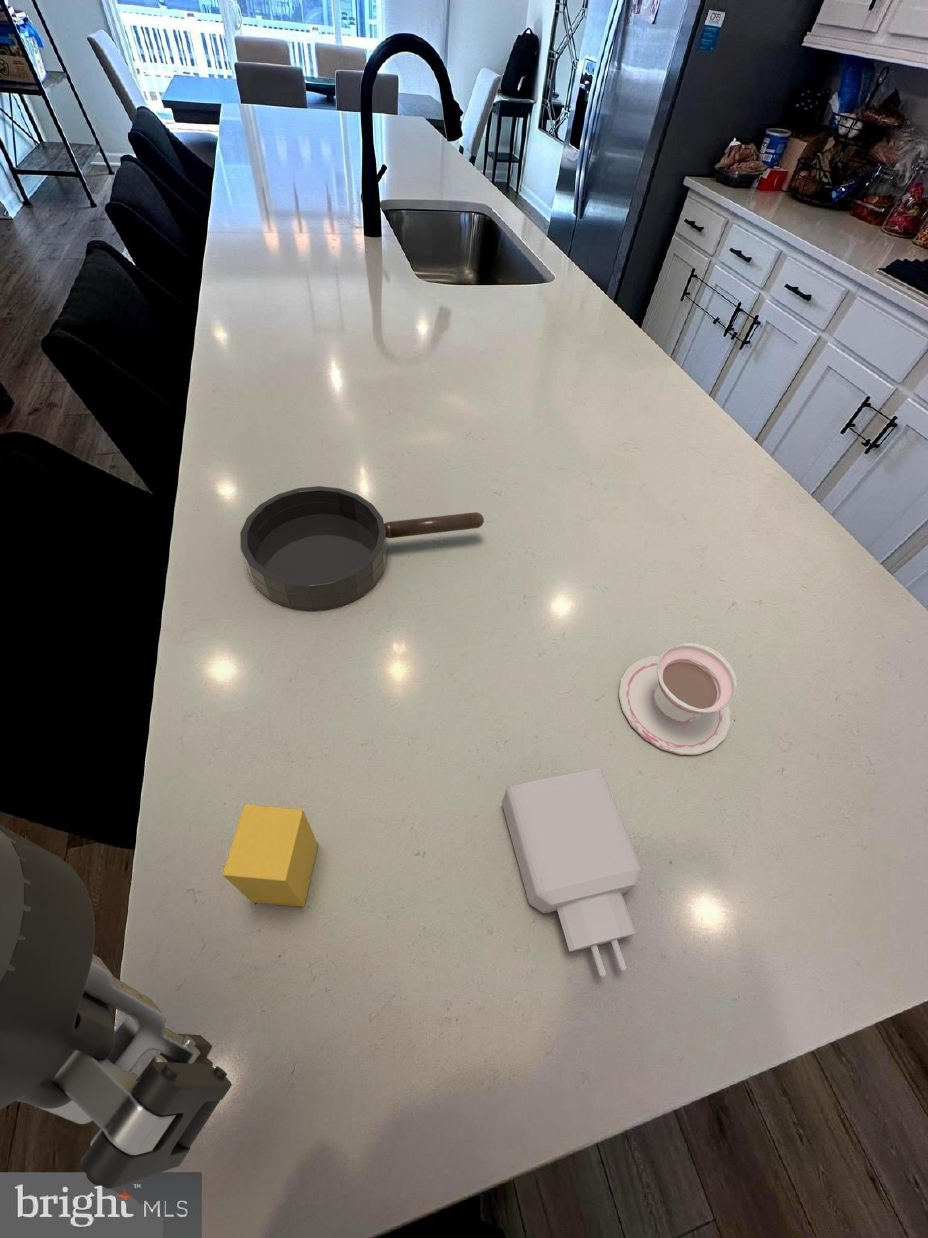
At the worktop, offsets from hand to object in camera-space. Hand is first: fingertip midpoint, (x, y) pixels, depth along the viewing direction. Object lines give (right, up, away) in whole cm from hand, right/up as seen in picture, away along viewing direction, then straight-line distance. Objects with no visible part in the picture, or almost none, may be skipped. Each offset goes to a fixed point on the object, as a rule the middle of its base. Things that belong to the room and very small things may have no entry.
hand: (120, 1007), depth 25 cm
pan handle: (+12, +29, +45) cm, 55 cm away
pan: (-2, +25, +44) cm, 51 cm away
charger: (+25, -5, +24) cm, 35 cm away
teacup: (+38, +8, +35) cm, 53 cm away
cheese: (0, -4, +22) cm, 22 cm away
